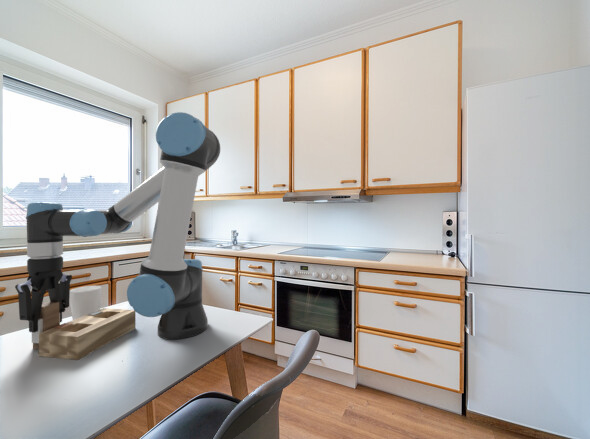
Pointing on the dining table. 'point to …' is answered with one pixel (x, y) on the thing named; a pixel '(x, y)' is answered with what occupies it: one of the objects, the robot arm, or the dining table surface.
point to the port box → (86, 333)
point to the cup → (85, 300)
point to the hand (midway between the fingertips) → (46, 338)
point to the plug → (48, 317)
